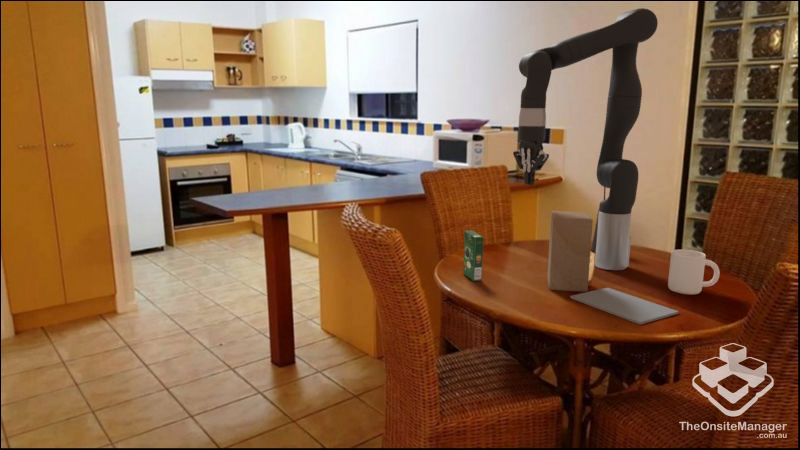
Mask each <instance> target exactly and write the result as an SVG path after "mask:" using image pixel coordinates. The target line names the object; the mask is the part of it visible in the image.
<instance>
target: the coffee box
mask: <svg viewBox="0 0 800 450" xmlns="http://www.w3.org/2000/svg"><path fill="white" fill-rule="evenodd" d="M484 238H485V237H484V236H482V235H481V234H479V233H477V232H476V231H474V230H465V231H464V241H463V242H464V244H463V245H464V246H463V270H462V271H463V273H462V274H463V275H464V276H466V277H467V278H469V279H470V280H471V281H472V282H481V281H482V278H483V277H482V276H483V275H482V274H483V259H484V258H483V257H484V241H485V239H484Z"/></svg>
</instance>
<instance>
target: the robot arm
mask: <svg viewBox="0 0 800 450" xmlns="http://www.w3.org/2000/svg"><path fill="white" fill-rule="evenodd" d="M657 29H658V17H657V15H656V14H655V12H654V11H652V10H650V9H648V8H643V7H641V8H636V9H632V10H629V11H626V12H623V13H621V14H619V16H618V17H617V18H616V20H615V21H614V23H612V24H609V25H606V26H603V27H601V28H598V29H594V30H591V31H587V32H584V33H581V34H577V35H575V36H572V37H569V38H566V39H564V40H562V41H559V42H557V43H555V44H553V45H550V46H547V47H544V48H541V49H537V50H534V51H531V52H528V53H527V54H525V55H524V56H522V58H520V61H519V63H518V69H519V72H520V74H521V75H522V76H523V77H525V78H526V80H525V81H526V82H525V87H524V88H523V89H522V90H521V94H520V105H519V106H520V108H519V109H520V110H519V114H518V128H517V129H518V132H517V140H518V141H519V145H518V149H517V150H514V151H513V152H512V155H513V157H514V159H515V161H516V163H517V166H518V168H519V169H520V170H523V173H524V175H523V176H524V177H523V182H524V185H525V186H533V185H534V184H535V177H536V176H535V175H536V172H538V171H541V170H542V168H543V167H544V165H545V164H546V162H547V160H548V159H549V158H550V155H549V153H546V152H545V151H544V146H543V142H544V141H545V140H546V124H547V114H546V113H547V112H546V107H547V92H548V89H549V85H550V80H551V75H552V71H553V70H556V69H562V68H565V67H569V66H571V65H574V64H577V63H579V62H581V61H583V60H586V59H589V58H591V57H594V56H596V55H598V54H601V53H604V52H605V51H609V50H611V49H612V51H611V52H612V59H611V68H610V69H611V70H610V79H609V87H608V88H609V89H608V94H607V102H606V104H607V105H606V113H605V121H604V123H605V124H604V129H603V138H602V144H601V149H600V153H599V157H598V162H597V166H596V167H597V168H596V180H597V182H598V183H599V185H600V186H601V187H603V188H604V187H606V189H607V188H608V189H609V193H608V197H607V198H605V200H604V199H603V200H601V201H600V202H599V204H598V206H599V207H598V211H599V217H598V230H597V243H596V252H595V257H594V266H595V267H596V268H599V269H602V270H609V271H623V270H626V269H627V268H628V267H629V265H630V264H629V263H630V255H631V254H630V252H631V241H632V236H630V231H631V223H632V221H631V220H632V209H633V207H634V204H635V202H636V199H637V198H636V197H637V191H638V190H637V189H638V184H639V169H638V166H637V164H636V163H635V162H634V161H632V160H630V159H625V158H623V154H624V153H623V152H624V147H625V146H624V145H625V143H626V140H627V137H628V136H629V133H630V132H631V131H632V129H633V127H634V125H635V123H636V122H637V120H638V118H639V116H640V111H641V104H642V97H643V88H642V83H641V79H640V75H639V72H638V69H637V54H638V48H639V44H640V43H643V42H646V41H648V40H649V39H651V38H652V37H653V35H654V34H655V33H656V31H657Z"/></svg>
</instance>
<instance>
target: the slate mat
mask: <svg viewBox="0 0 800 450" xmlns="http://www.w3.org/2000/svg"><path fill="white" fill-rule="evenodd" d="M569 299H572V300H574V301H577V302H580V303H583V304H585V305H588V306H590V307H592V308H595V309H598V310H601V311H603V312H606V313H609V314H612V315H614V316H617V317H618V318H621V319H624V320H627V321H629V322H632V323H634V324H637V325H643V324H647V323H651V322H654V321H657V320H662V319H665V318H668V317H671V316H676V315H678V314H679V313H680V312H679V310H676V309H673V308H671V307H667V306H664V305H661V304H659V303H655V302H652V301H649V300H646V299H643V298H640V297H638V296H634V295H632V294H628V293H625V292H622V291H618V290H617V289H613V288H611V287H604V288H600V289H595V290H590V291H587V292H582V293H581V292H580V293H578V294H574V295H570V298H569Z"/></svg>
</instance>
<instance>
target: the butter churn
mask: <svg viewBox="0 0 800 450" xmlns="http://www.w3.org/2000/svg"><path fill="white" fill-rule="evenodd" d="M606 189H607V188H606V187H603V200H606ZM596 216H597V217H596V222H595V227H594V233H593V238H592V241H591V250H592V252H593V251H594V253H596V243H597V230H598V217H599V210H597V215H596Z"/></svg>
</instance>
